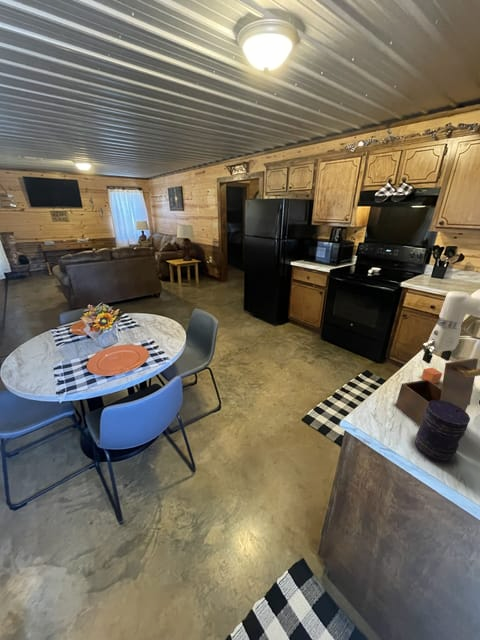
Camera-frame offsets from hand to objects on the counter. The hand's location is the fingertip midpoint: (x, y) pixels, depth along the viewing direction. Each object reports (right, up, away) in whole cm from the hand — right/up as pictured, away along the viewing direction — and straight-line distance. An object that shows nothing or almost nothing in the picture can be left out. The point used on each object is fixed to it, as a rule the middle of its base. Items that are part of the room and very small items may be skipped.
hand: (435, 360), depth 109 cm
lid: (-14, -3, -28) cm, 32 cm away
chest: (-16, -17, -16) cm, 29 cm away
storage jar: (-23, -23, -29) cm, 44 cm away
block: (0, -9, +4) cm, 10 cm away
